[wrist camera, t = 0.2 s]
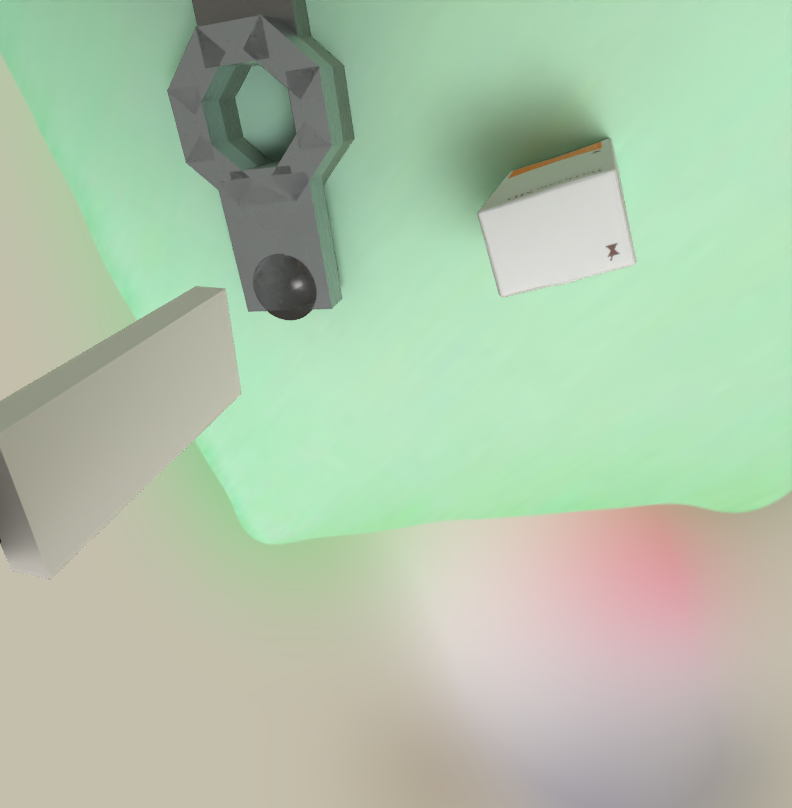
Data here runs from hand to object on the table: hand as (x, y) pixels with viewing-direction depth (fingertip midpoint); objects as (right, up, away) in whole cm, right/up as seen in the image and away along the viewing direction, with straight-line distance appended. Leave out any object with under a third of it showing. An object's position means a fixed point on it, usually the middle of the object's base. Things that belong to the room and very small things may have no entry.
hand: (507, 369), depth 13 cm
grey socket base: (-10, +17, +26) cm, 33 cm away
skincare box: (+8, +12, +24) cm, 28 cm away
